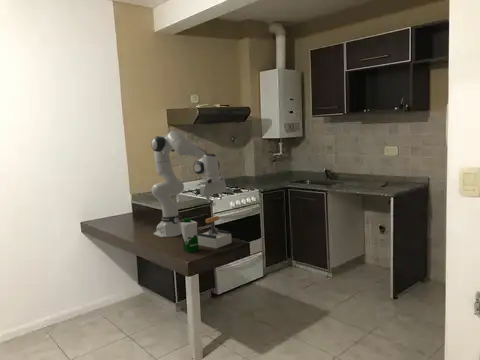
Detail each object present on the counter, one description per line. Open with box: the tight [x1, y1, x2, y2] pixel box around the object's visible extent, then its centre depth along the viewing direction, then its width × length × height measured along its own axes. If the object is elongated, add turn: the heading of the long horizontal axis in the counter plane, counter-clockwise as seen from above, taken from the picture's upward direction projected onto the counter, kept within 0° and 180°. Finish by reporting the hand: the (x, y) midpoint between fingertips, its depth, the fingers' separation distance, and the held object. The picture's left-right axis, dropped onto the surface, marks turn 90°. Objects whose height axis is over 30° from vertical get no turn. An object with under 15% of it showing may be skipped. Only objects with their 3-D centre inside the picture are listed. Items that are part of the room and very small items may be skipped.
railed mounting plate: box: [197, 229, 231, 239], centre depth 258 cm, size 16×13×1 cm
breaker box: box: [198, 227, 233, 250], centre depth 259 cm, size 18×14×10 cm
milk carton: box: [180, 217, 200, 254], centre depth 246 cm, size 9×9×20 cm
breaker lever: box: [205, 215, 220, 234], centre depth 258 cm, size 2×10×10 cm, turn 138°
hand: (214, 200), depth 253 cm, fingers open, 8 cm apart
